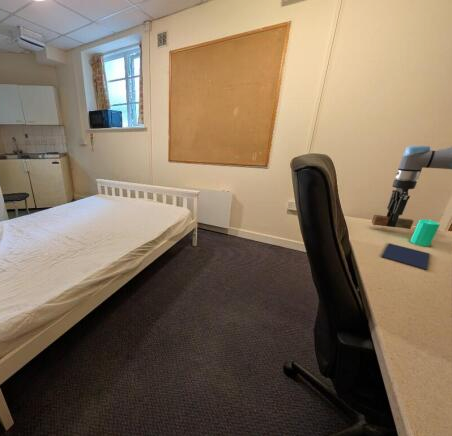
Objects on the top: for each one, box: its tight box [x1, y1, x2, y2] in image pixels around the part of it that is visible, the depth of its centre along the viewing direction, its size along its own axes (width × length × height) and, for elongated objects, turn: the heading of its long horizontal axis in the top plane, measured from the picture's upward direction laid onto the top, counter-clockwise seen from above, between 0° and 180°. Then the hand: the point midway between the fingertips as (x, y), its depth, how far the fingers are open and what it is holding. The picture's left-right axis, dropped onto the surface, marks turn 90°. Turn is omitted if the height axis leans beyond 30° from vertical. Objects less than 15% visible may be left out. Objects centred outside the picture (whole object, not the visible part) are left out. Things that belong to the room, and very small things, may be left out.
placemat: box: [381, 243, 430, 271], centre depth 90 cm, size 18×12×1 cm, turn 129°
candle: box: [410, 218, 441, 247], centre depth 98 cm, size 6×6×12 cm
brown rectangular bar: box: [370, 214, 414, 230], centre depth 112 cm, size 14×4×4 cm, turn 60°
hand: (389, 225), depth 113 cm, fingers closed on brown rectangular bar, 4 cm apart
